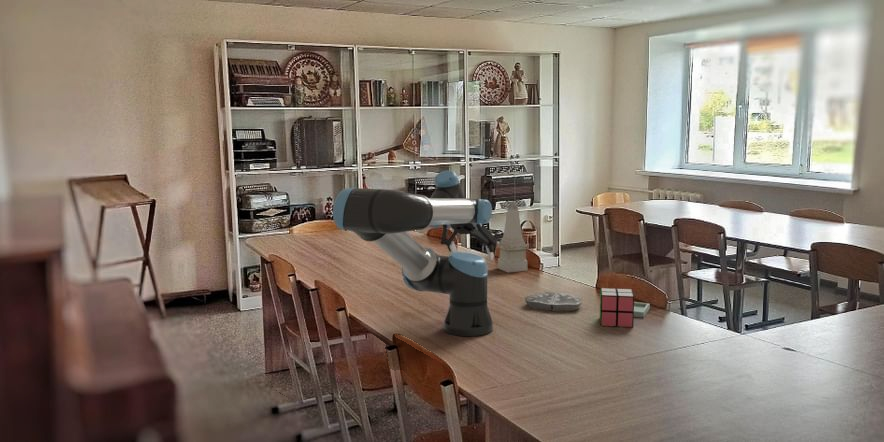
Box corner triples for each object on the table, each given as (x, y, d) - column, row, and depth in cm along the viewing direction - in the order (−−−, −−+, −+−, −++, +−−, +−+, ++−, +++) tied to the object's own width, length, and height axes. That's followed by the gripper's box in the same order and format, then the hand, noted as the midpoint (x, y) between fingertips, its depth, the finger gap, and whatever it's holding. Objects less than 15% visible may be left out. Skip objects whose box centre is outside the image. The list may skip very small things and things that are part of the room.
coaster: (643, 317, 226) (643, 312, 226) (606, 313, 231) (606, 308, 231) (649, 308, 237) (649, 303, 237) (614, 305, 242) (614, 300, 242)
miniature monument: (529, 270, 300) (529, 201, 296) (507, 272, 296) (507, 203, 292) (517, 266, 310) (518, 199, 306) (496, 268, 306) (496, 200, 302)
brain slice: (584, 302, 248) (584, 294, 247) (580, 314, 231) (580, 306, 231) (529, 299, 253) (529, 291, 252) (522, 311, 237) (522, 302, 236)
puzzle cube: (633, 328, 215) (634, 296, 214) (600, 326, 217) (601, 295, 216) (631, 319, 225) (632, 289, 224) (599, 317, 227) (600, 287, 226)
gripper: (495, 203, 229) (510, 250, 242) (428, 205, 240) (445, 249, 253) (489, 218, 224) (504, 265, 237) (420, 219, 235) (438, 264, 247)
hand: (474, 257), depth 245 cm, fingers open, 13 cm apart
